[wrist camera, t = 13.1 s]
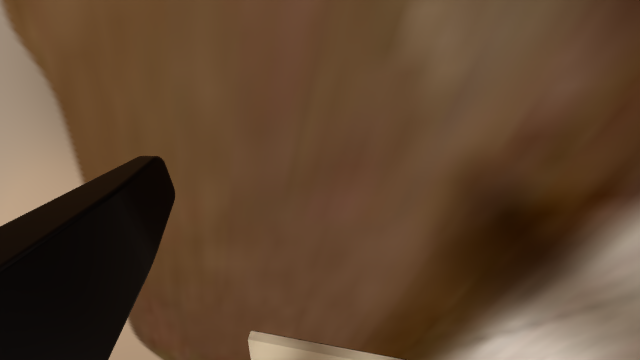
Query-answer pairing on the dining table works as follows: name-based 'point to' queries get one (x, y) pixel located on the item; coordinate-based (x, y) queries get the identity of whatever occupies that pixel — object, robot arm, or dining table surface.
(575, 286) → the dining table surface
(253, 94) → the dining table surface
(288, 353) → the shaft station
